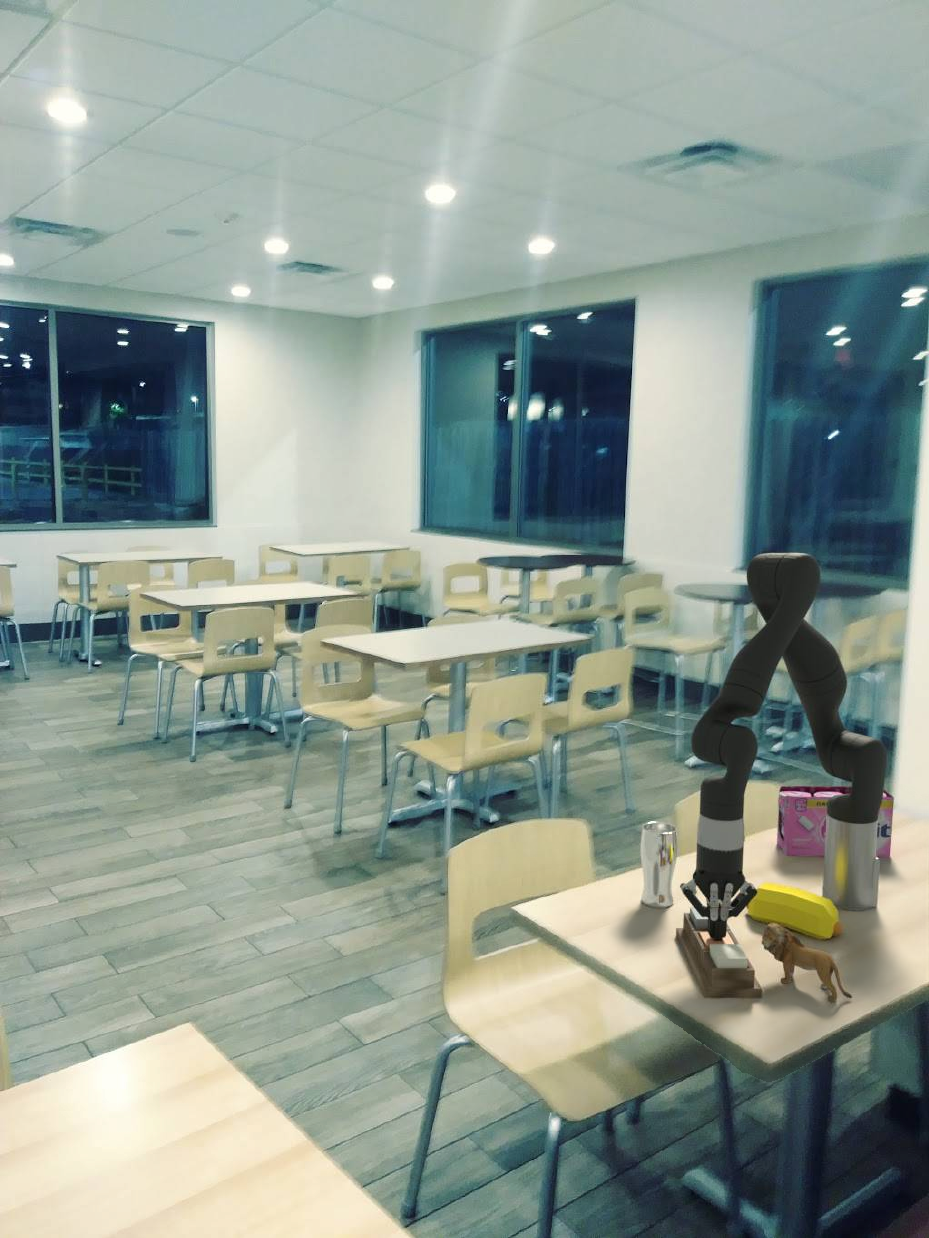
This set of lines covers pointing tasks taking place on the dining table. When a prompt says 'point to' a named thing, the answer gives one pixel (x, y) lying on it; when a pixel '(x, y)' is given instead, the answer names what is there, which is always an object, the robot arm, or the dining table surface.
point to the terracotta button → (708, 940)
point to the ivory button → (728, 956)
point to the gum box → (820, 819)
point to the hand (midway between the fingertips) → (716, 938)
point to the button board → (712, 978)
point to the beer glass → (658, 863)
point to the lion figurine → (800, 957)
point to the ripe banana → (795, 910)
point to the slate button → (698, 919)
